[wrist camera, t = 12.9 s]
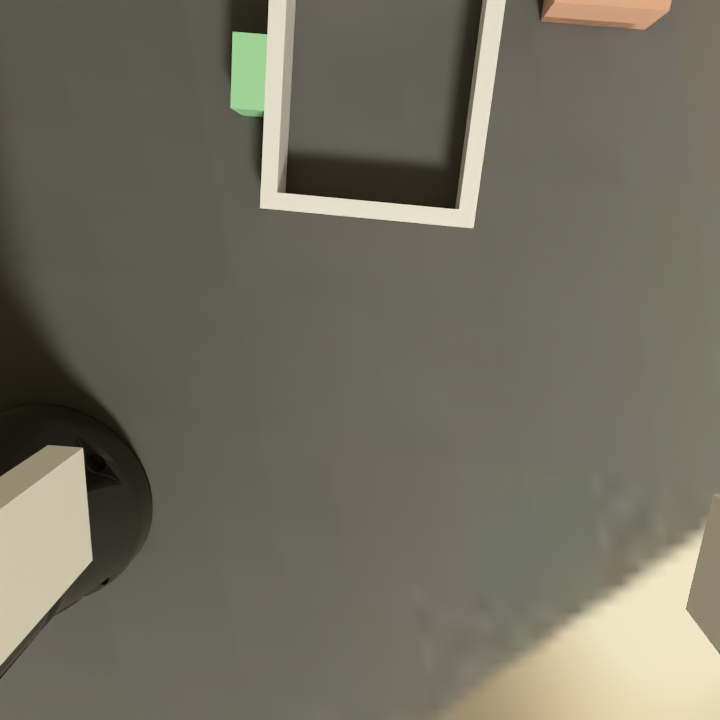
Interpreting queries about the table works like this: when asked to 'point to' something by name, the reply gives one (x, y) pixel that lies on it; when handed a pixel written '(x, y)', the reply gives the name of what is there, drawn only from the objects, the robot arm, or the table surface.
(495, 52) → the frame
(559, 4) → the dish
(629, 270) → the table surface
